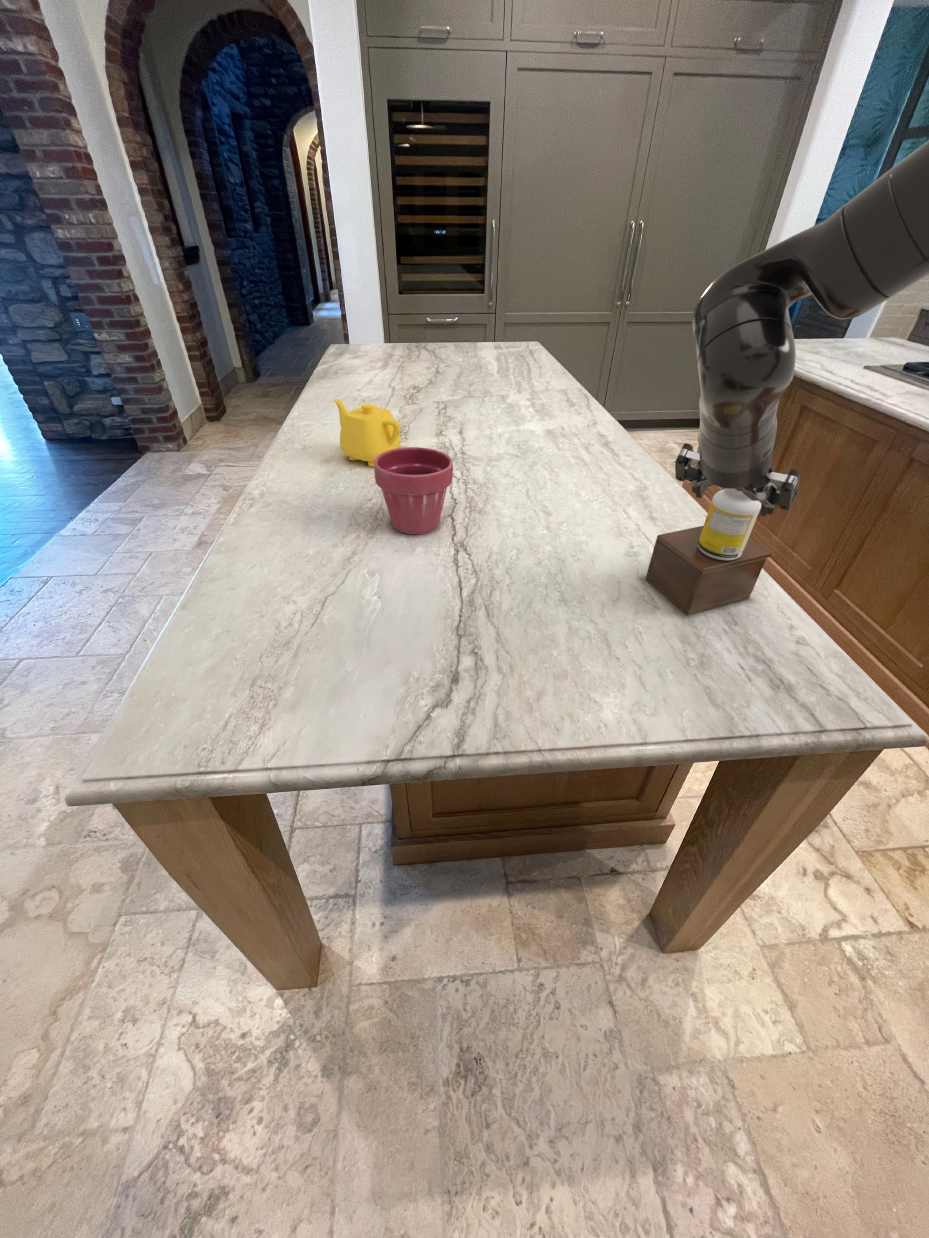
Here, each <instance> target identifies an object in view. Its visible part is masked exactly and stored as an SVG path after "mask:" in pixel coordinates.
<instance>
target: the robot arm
mask: <svg viewBox="0 0 929 1238" xmlns="http://www.w3.org/2000/svg"><path fill="white" fill-rule="evenodd" d="M928 276H929V139H928V140H927V141H925V142H924V143H922V144H921V145H919V147H917V148H915V150H913V151H912V152H910V154H908V155H907V156H905V157H904V158H903V159H902V160H900V161H899V162H897V163H896V164H895V165H894V166H892V167H891V168H890V169H888V170H887V171H886V172H885V173H883V174H882V175H881V176H880V177H878V178H877V179H876V180H875V181H873V182H872V183H871V184H870V185H867V186H866V187H865V188H864V189H863V190H861V191H860V192H859V193H858V194H856V195H855V196H854V197H852V198H851V199H850V200H848V201H847V202H846V203H845V204H843V205H842V206H841V207H839V208H838V209H837V210H836V211H834V213H832V214H831V215H830V216H828V217H827V218H826V219H824V220H823V221H821V222H819V223H817V224H815V225H813V226H811V227H809V228H807V229H804V230H803V231H800V232H797V233H796V234H794V235H792V236H789V237H788V238H786V239H784V240H782V241H780V242H778V243H776V244H774V245H773V246H770V247H768V248H766V249H765V250H762V251H760V252H758V253H756V254H754V255H751V256H750V257H748V258H746V259H743V260H741V261H740V262H737V263H736V264H735V265H733V266H731V267H730V268H728V269H726V270H725V271H724V272H722V273H721V274H720V275H719V276H717V277H716V278H714V280H713V281H712V282H711V283H710V284H709V286H707V288H706V289H705V290H704V292H703V293H702V294H701V296H700V298H699V299H698V301H697V303H696V304H695V307H694V310H693V313H692V318H691V319H692V320H691V326H692V333H693V340H694V348H695V356H696V357H695V358H696V363H697V364H696V365H697V372H698V379H699V386H700V394H699V402H698V403H699V405H698V411H699V426H698V434H697V443H698V451H699V452H697V451H696V450H694V446H693V445H692V444H690V443H687V442H686V443H683V445H682V447H681V448H680V451H679V453H678V455H677V457H676V459H675V461H674V470H675V471H674V472H675V480H677V481H678V482H681V483H684V482H685V481H688V482H689V483H688V485H689V486H691V491H692V493H693V494H695V498H697V499H703V497H704V494H705V492H706V491H707V489H708V488H709V487H712V486H717V487H719V488H722V489H725V488H728V489H736V490H737V491H741V492H742V493H744V494H745V495H746V496H747V497H748V498H750V499H751V500H752V501H759V502H760V503H761V509H760V511H759V516H761V517H763V518H766V517H767V515H770V516H772V515H773V514H774V512H775V511H776V508H777V506H778V508H779V509H780V510H782V511H789V510H790V508H791V507H792V505H793V503H794V501H795V499H796V497H797V495H798V493H799V487H800V481H801V474H802V472H801V471H800V470H798V469H794V468H792V469H791V468H790V469H789V470H788V472H787V473H780V472H776V471H775V469H774V468H773V466H772V459H773V455H774V448H775V442H776V439H777V431H778V417H777V415H778V409H779V404H780V400H781V399H782V398H783V395H785V392H786V391H787V390H788V388H789V386H790V385H791V383H792V381H793V379H794V374H795V370H796V369H795V368H796V357H797V356H796V355H797V354H796V352H797V351H796V341H795V337H794V332H793V326H792V322H791V316H790V311H789V308H790V307H791V306H793V305H794V304H796V303H797V302H799V301H800V300H803V299H806V298H808V297H810V296H812V297H813V298H814V300H815V301H816V302H817V304H818V305H819V306H820V307H821V309H822V310H823V311H824V312H825V313H827V314H828V315H829V316H830V317H832V318H834V319H837V320H841V321H842V320H843V321H844V320H852V319H855V318H857V317H859V316H862V315H864V314H866V313H868V312H870V311H871V310H873V309H875V308H877V307H878V306H881V304H883V303H885V302H886V301H888V300H889V299H891V298H893V297H894V296H897V295H898V294H899V293H901V292H903V291H904V290H906V289H908V288H909V287H911V286H912V285H914V284H916V283H918V282H919V281H921V280H923V279H924V278H926V277H928ZM695 464H697V467H693V466H694V465H695ZM755 488H756V489H755ZM754 489H755V490H754Z"/></svg>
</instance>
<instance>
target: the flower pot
mask: <svg viewBox="0 0 929 1238" xmlns="http://www.w3.org/2000/svg"><path fill="white" fill-rule="evenodd" d="M373 471H374V480H375V484H376V485H377V487H379V488H380V489H381V492H382V497H383V498H384V499H383V500H384V502H385V505H386V508H387V511H388V515H389V519H390V522H391V524H392V527H393V528H394V529H395V530H396V531H398V532H400V533H403V534H407V535H423V534H428V533H430V532H433V531H434V530H436V529H437V528H438V526H439V523H440V519H441V516H442V513H443V512H442V511H443V507H444V504H445V499H446V495H447V489H448V488H449V486H450V485H451V484H452V482H453V478H454V477H453V474H454V464H453V459H452V457H451V456H450V455H449V454H447V453H445V452H443V451H440V450H437V449H434V448H428V447H422V446H421V447H418V446H408V447H407V446H406V447H399V448H397V449H392V450H389V451H386V452H384V453H382V454H380V455H378V456H377V457H376V458H375V460H374V466H373Z"/></svg>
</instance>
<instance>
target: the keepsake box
mask: <svg viewBox="0 0 929 1238" xmlns="http://www.w3.org/2000/svg"><path fill="white" fill-rule="evenodd" d="M766 561H767V558H764V559H760V560H756V561H752V562H748V563H743V564H739V565H735V566H731V567H727V568H723V569H719V570H714V571H710V572H706V573H701V572H700V571H699V570H697V569H696V568H694V567H693V566H692V565H690V564H689V563H688V562H686V561H685V560H684V559H682V558H681V557H680V556H678V555H677V554H676V553H674V552H673V551H672V550H670V549H669V548H668V547H666V546H665V545H663V544H662V543H661V542H659V541H658V540H657V539H655V543H654V546H653V550H652V553H651V557H650V561H649V563H648V564H649V565H648V568H647V571H646V576H645V579H644V580H645V581H646V582H647V583H648V584H649V585H650V586H651V587H653V588H654V589H655V590H657V592H659V593H660V594H661V595H662V596H663V597H665V598H666V599H667V600H668V601H669V602H671V603H672V604H673V605H674V606H675V607H676V608H678V609H679V610H680V611H681V612H682V613H683V614H685V616H687V617H689V616H692V615H695V614H698V613H702V612H706V611H709V610H713V609H717V608H721V607H724V606H728V605H732V604H736V603H739V602H742V601H746V600H749V599H750V597H751V595H752V593H753V590H754V589H755V586H756V583H757V581H758V579H759V577H760V574H761V573H762V569H763V567H764V565H765V563H766Z"/></svg>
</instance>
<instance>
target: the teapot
mask: <svg viewBox="0 0 929 1238" xmlns="http://www.w3.org/2000/svg"><path fill="white" fill-rule="evenodd" d="M333 401H334V403H335V404H336V406H337V408H338V413H339V424H340V434H339V446H340V449H341V450H342V452H343V453H344V455H346V456H347V457H349V458H348V460H349V461H363V462H367V465H368V466H369V467H374V460H375V458H376V457H377V456H378V455H380V454H382V453H384V452H386V451H389V450H392V449H397V448H400V446H401V443H402V441H401V440H402V439H401V430H402V425H401V423H400V422H399V421H398V420H396V419H395V418H394V415H393V414H392V412H391V410H388V409H386V408H383V407H379V406H375V405H374V403H373V404H372V403H362V404H361V405H360V407H357V408H354V409H351V410H350V411H348V410H347V408H346V406H345V404H344V402H342V400H341V399H338V398H333Z"/></svg>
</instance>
